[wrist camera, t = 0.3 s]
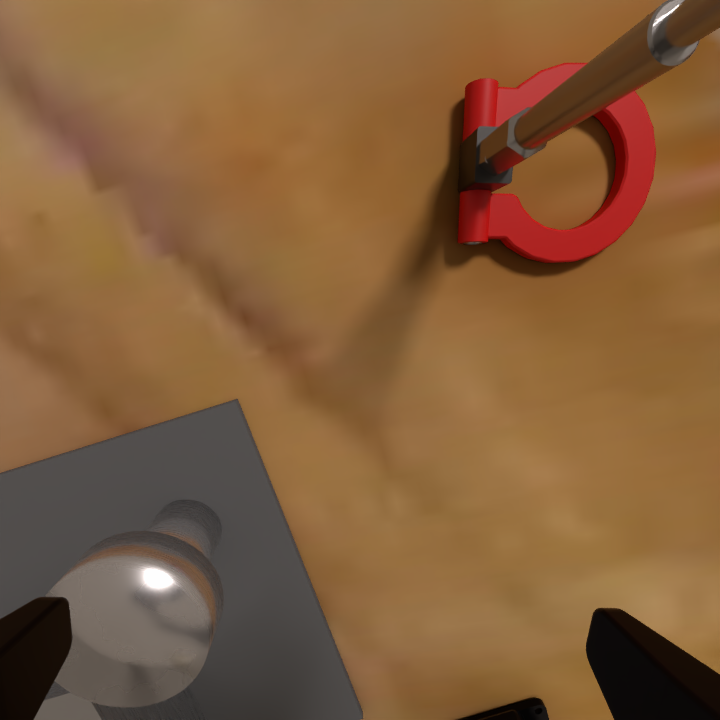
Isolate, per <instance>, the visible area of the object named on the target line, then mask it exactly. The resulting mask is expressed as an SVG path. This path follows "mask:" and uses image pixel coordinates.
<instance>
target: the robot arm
mask: <svg viewBox="0 0 720 720" xmlns="http://www.w3.org/2000/svg"><path fill="white" fill-rule="evenodd" d="M71 645H72V627H71V616H70V606H69V602H68V600H67V599H66V598H64V597H39V598H36V599H34V600H32V601H30V602H29V603H27V604H25V605H23V606H22V607H20V608H18V609H17V610H15V611H13V612H11V613H10V614H8V615H6V616H5V617H3V618H1V619H0V720H34V718H35V716H36V715H37V713H38V711H39V709H40V707H41V705H42V703H43V701H44V699H45V698H46V696H47V694H48V692H49V690H50V688H51V686H52V684H53V683H54V681H55V679H56V677H57V675H58V673H59V671H60V669H61V668H62V666H63V664H64V662H65V660H66V658H67V656H68V654H69V651H70V648H71ZM586 653H587V658H588V661H589V664H590V666H591V668H592V670H593V673H594V675H595V677H596V679H597V682H598V684H599V686H600V689H601V691H602V693H603V695H604V698H605V700H606V702H607V704H608V707H609V709H610V711H611V713H612V716H613V718H614V720H720V674H718V673H717V672H715V671H714V670H712V669H711V668H709V667H708V666H706V665H705V664H703V663H702V662H700V661H699V660H697V659H696V658H694V657H693V656H691V655H690V654H688V653H687V652H685V651H684V650H682V649H681V648H679V647H678V646H676V645H675V644H673V643H672V642H670V641H669V640H667V639H666V638H664V637H663V636H661V635H659V634H658V633H656V632H655V631H653V630H652V629H650V628H649V627H647V626H646V625H644V624H643V623H641V622H640V621H638V620H637V619H635V618H634V617H632V616H631V615H629V614H628V613H626V612H625V611H623V610H621V609H617V608H598V609H596V610H595V611H594V612H593V615H592V620H591V624H590V629H589V633H588V638H587V642H586ZM464 720H549V718H548V714H547V710H546V707H545V705H544V703H543V701H542V700H541V699H539V698H535V699H531V700H528V701H524V702H521V703H518V704H514V705H511V706H508V707H504V708H501V709H498V710H494V711H491V712H487V713H484V714H481V715H477V716H474V717H471V718H467V719H464Z"/></svg>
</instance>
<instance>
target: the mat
mask: <svg viewBox="0 0 720 720" xmlns="http://www.w3.org/2000/svg"><path fill="white" fill-rule="evenodd" d="M177 500H195V501H198V502H201V503H203V504H205V505H207V506H209V507H210V508H211V509H212V510H213V511H214V512H215V513H216V514H217V516H218V517H219V519H220V522H221V525H222V536H221V539H220V542H219V544H218V546H217V548H216V550H215V553H214V555H213V557H212V559H211V561H210V562H211V564H212V565H213V566H214V568H215V569H216V571H217V573H218V575H219V577H220V580H221V583H222V587H223V591H224V605H223V611H222V614H221V618H220V620H219V623H218V626H217V629H216V632H215V635H214V638H213V640H212V643H211V646H210V649H209V652H208V655H207V658H206V660H205V663H204V665H203V667H202V669H201V671H200V672H199V674H198V675H197V677H196V678H195V679H194V680H193V681H192V683H191V684H189V687H190V689H191V691H192V693H193V695H194V697H195V699H196V701H197V703H198V705H199V706H200V708H201V710H202V712H203V714H204V716H205V718H206V720H360V719H363V711H362V709H361V706H360V704H359V701H358V699H357V696H356V694H355V691H354V689H353V686H352V684H351V681H350V679H349V676H348V674H347V671H346V669H345V666H344V664H343V661H342V659H341V656H340V654H339V651H338V649H337V646H336V644H335V641H334V639H333V636H332V634H331V631H330V629H329V626H328V624H327V621H326V619H325V616H324V614H323V611H322V609H321V606H320V604H319V601H318V599H317V596H316V594H315V591H314V589H313V586H312V584H311V581H310V579H309V576H308V574H307V571H306V569H305V566H304V564H303V561H302V559H301V556H300V554H299V551H298V549H297V546H296V544H295V541H294V539H293V536H292V534H291V531H290V529H289V526H288V524H287V521H286V519H285V516H284V514H283V511H282V509H281V506H280V504H279V501H278V499H277V496H276V494H275V491H274V489H273V486H272V484H271V481H270V479H269V476H268V474H267V471H266V469H265V466H264V464H263V461H262V459H261V456H260V454H259V451H258V449H257V446H256V444H255V441H254V439H253V436H252V434H251V431H250V429H249V426H248V424H247V421H246V419H245V416H244V414H243V411H242V409H241V406H240V404H239V401H238V399H236V400H232V401H229V402H226V403H223V404H220V405H216V406H213V407H210V408H207V409H204V410H200V411H197V412H194V413H191V414H188V415H184V416H181V417H178V418H175V419H172V420H168V421H165V422H162V423H159V424H156V425H152V426H149V427H146V428H143V429H140V430H136V431H133V432H130V433H127V434H124V435H121V436H117V437H114V438H111V439H108V440H105V441H101V442H98V443H95V444H92V445H89V446H85V447H82V448H79V449H76V450H73V451H69V452H66V453H63V454H60V455H57V456H53V457H50V458H47V459H44V460H41V461H37V462H34V463H31V464H28V465H25V466H21V467H18V468H15V469H12V470H9V471H6V472H2V473H0V619H1V618H3V617H5V616H6V615H8V614H10V613H11V612H13V611H15V610H17V609H18V608H20V607H22V606H23V605H25V604H27V603H29V602H30V601H32V600H34V599H36V598H39V597H45V595H46V594H47V593H48V592H49V591H50V590H51V589H52V588H53V587H54V585H55V584H56V583H57V582H58V581H59V580H60V579H61V578H62V577H63V576H64V575H65V574H66V572H67V571H68V570H69V569H70V568H71V567H72V566H73V565H74V564H75V563H76V562H77V561H78V559H79V558H80V557H81V556H82V555H83V554H84V553H85V552H86V551H87V550H88V549H89V548H91V547H92V546H93V545H95V544H96V543H98V542H100V541H102V540H103V539H105V538H108V537H110V536H113V535H116V534H120V533H124V532H132V531H145V530H146V528H147V527H148V526H149V524H150V523H151V522H152V521H153V519H154V518H155V517H156V515H157V514H158V513H159V511H160V510H161V509H162V508H163V507H164V506H166V505H167V504H169V503H171V502H174V501H177Z"/></svg>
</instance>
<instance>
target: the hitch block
mask: <svg viewBox="0 0 720 720" xmlns="http://www.w3.org/2000/svg"><path fill="white" fill-rule="evenodd" d="M34 720H206V718H205V716H204V714H203V712H202V710H201V708H200V706H199V705H198V703H197V701H196V699H195V697H194V695H193V693H192V691H191V689H190V687H189V685H188V686H187V687H186V688H185V689H184V690H182V691H181V692H179V693H178V694H176V695H175V696H173V697H171V698H169V699H167V700H164V701H161V702H158V703H155V704H151V705H147V706H140V707H126V708H124V707H111V706H105V705H101V704H97V703H93V702H90V701H87V700H85V699H82V698H80V697H78V696H76V695H74V694H72V693H70V692H69V691H67V690H66V689H64V688H63V687H61V686H60V685H59V684H58V683H57V682H55V681H54V683H53V684H52V686H51V688H50V690H49V692H48V694H47V696H46V698H45V699H44V701H43V703H42V705H41V707H40V709H39V711H38V713H37V715H36V716H35V718H34Z"/></svg>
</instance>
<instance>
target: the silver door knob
mask: <svg viewBox="0 0 720 720" xmlns="http://www.w3.org/2000/svg"><path fill="white" fill-rule="evenodd" d="M221 536H222V525H221V522H220V519H219V517H218V516H217V514H216V513H215V512H214V511H213V510H212V509H211V508H210V507H209V506H207V505H205V504H203V503H201V502H198V501H195V500H177V501H174V502H171V503H169V504H167V505H166V506H164V507H163V508H162V509H161V510H160V511H159V513H158V514H157V515H156V517H155V518H154V519H153V521H152V522H151V523H150V524H149V526H148V527H147V528H146V530H145V531H132V532H124V533H120V534H116V535H113V536H110V537H108V538H105V539H103V540H102V541H100V542H98V543H96V544H95V545H93V546H92V547H91V548H89V549H88V550H87V551H86V552H85V553H84V554H83V555H82V556H81V557H80V558H79V559H78V561H77V562H76V563H75V564H74V565H73V566H72V567H71V568H70V569H69V570H68V571H67V572H66V574H65V575H64V576H63V577H62V578H61V579H60V580H59V581H58V582H57V583H56V584H55V585H54V587H53V588H52V589H51V590H50V591H49V592H48V593H47V594H46V595H45V597H64V598H66V599H67V600H68V602H69V606H70V616H71V627H72V645H71V648H70V651H69V654H68V656H67V658H66V660H65V662H64V664H63V666H62V668H61V669H60V671H59V673H58V675H57V677H56V679H55V682H57V683H58V684H59V685H60V686H61V687H63V688H64V689H66V690H67V691H69V692H70V693H72V694H74V695H76V696H78V697H80V698H82V699H85V700H87V701H90V702H93V703H97V704H101V705H105V706H111V707H124V708H126V707H140V706H147V705H151V704H155V703H158V702H161V701H164V700H167V699H169V698H171V697H173V696H175V695H176V694H178V693H179V692H181V691H182V690H184V689H185V688H186V687H187V686H188V685H189V684H191V683H192V681H193V680H194V679H195V678H196V677H197V675H198V674H199V672H200V671H201V669H202V667H203V665H204V663H205V660H206V658H207V655H208V652H209V649H210V646H211V643H212V640H213V638H214V635H215V632H216V629H217V626H218V623H219V620H220V618H221V614H222V611H223V605H224V591H223V587H222V583H221V580H220V577H219V575H218V573H217V571H216V569H215V568H214V566H213V565H212V564H211V562H210V561H211V559H212V557H213V555H214V553H215V550H216V548H217V546H218V544H219V542H220V539H221Z"/></svg>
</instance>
